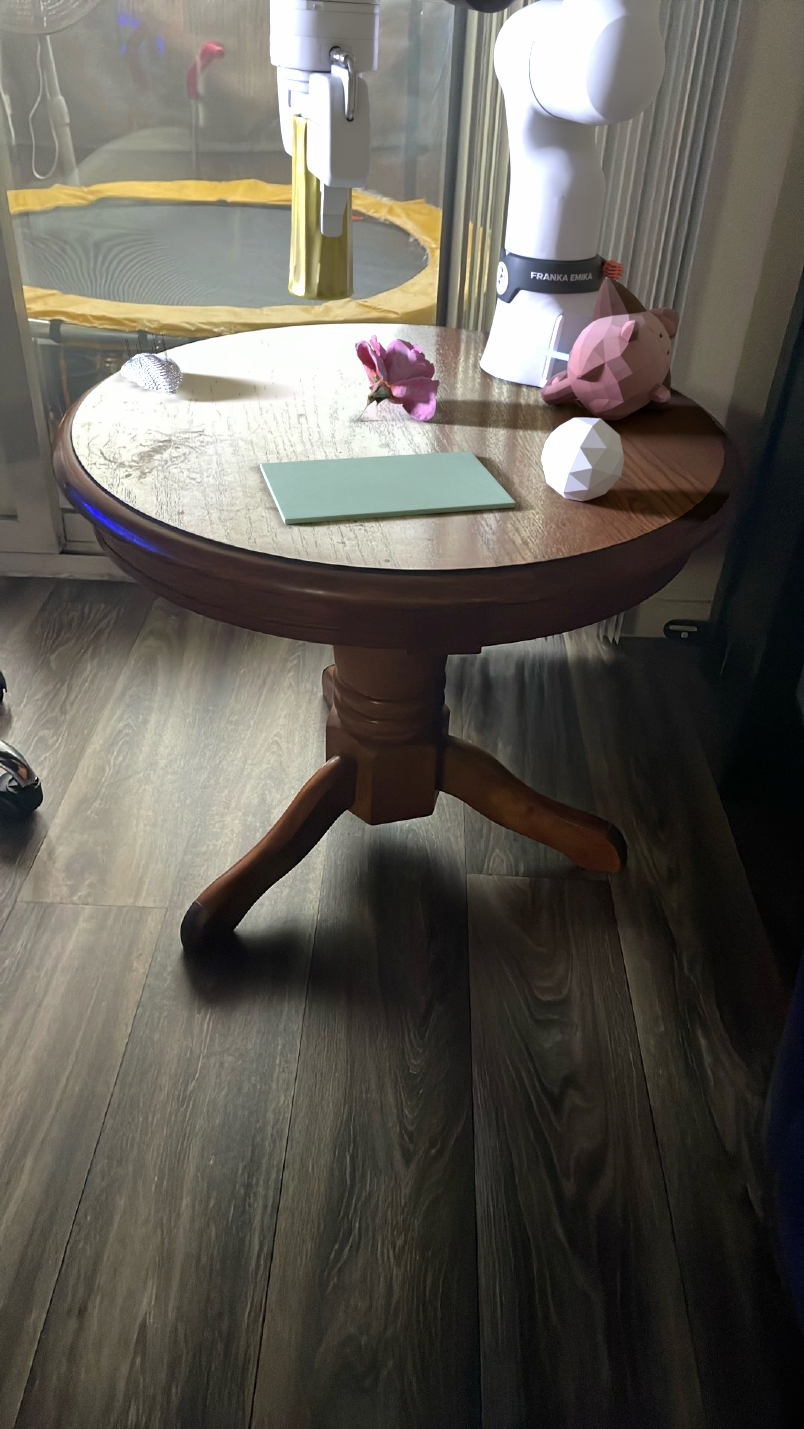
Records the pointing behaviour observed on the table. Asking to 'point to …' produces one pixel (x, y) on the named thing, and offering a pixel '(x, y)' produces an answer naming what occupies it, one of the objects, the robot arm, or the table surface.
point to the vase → (316, 233)
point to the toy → (618, 358)
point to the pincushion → (153, 371)
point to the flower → (399, 376)
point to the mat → (382, 487)
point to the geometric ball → (583, 458)
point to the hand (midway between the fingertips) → (322, 227)
